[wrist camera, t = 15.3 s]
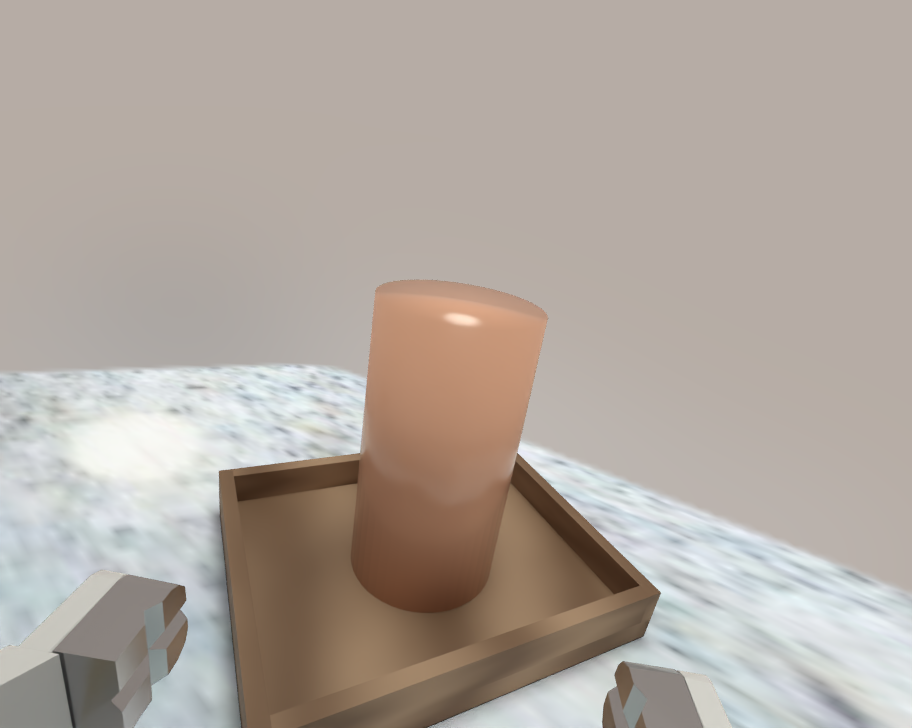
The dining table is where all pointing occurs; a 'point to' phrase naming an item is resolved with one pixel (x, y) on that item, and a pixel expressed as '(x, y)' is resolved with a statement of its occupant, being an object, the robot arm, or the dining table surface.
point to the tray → (399, 631)
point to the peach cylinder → (440, 438)
